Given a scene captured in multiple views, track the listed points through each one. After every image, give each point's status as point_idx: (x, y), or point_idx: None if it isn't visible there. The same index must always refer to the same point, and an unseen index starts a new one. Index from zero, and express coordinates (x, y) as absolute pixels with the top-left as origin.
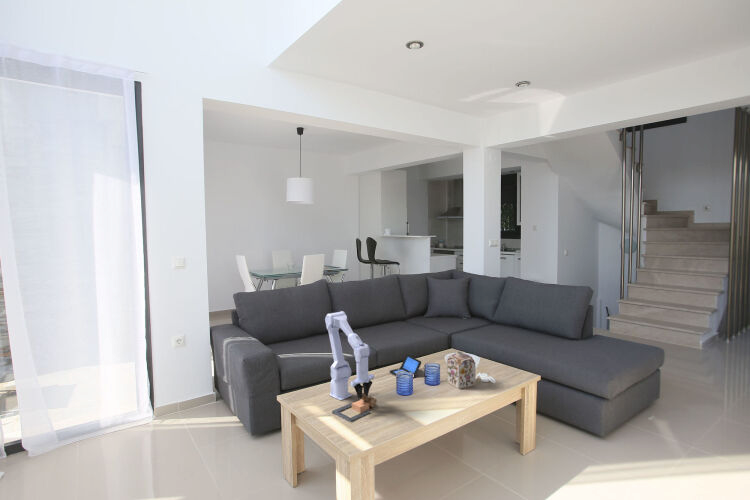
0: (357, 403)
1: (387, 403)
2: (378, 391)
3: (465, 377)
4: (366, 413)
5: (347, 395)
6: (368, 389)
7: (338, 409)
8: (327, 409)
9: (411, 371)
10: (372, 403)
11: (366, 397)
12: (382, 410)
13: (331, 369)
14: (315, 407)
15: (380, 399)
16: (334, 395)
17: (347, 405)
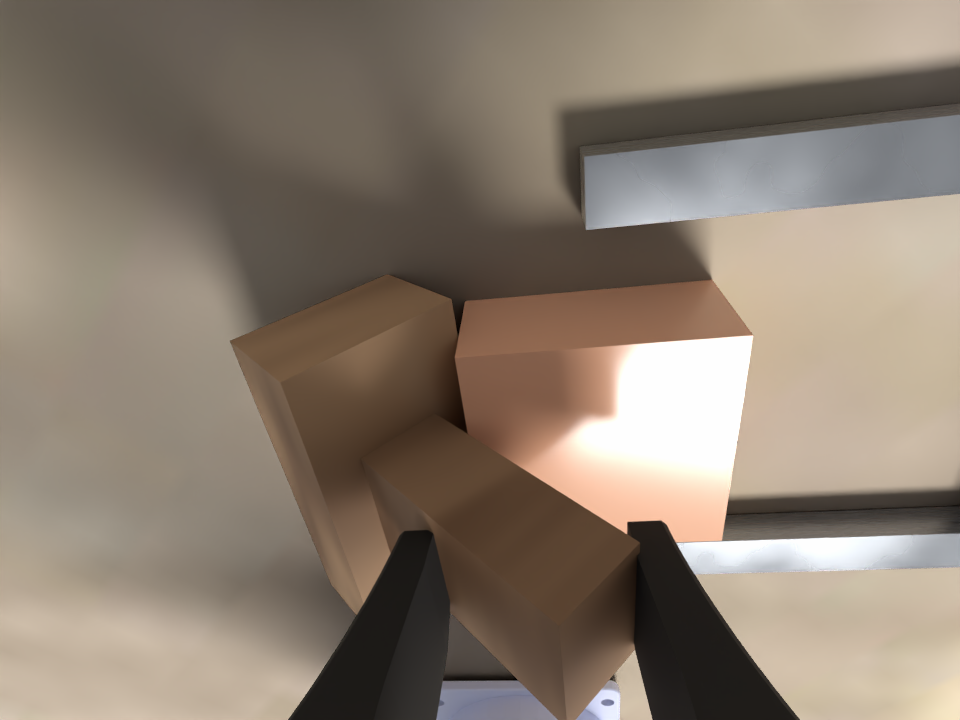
0: (647, 488)
1: (41, 253)
2: (57, 597)
3: None
4: (690, 139)
5: (488, 708)
6: (350, 710)
7: (922, 545)
8: (925, 625)
9: None
10: (386, 319)
11: (468, 502)
12: (271, 51)
13: None
14: (954, 712)
15: (114, 434)
16: None
17: (710, 556)
